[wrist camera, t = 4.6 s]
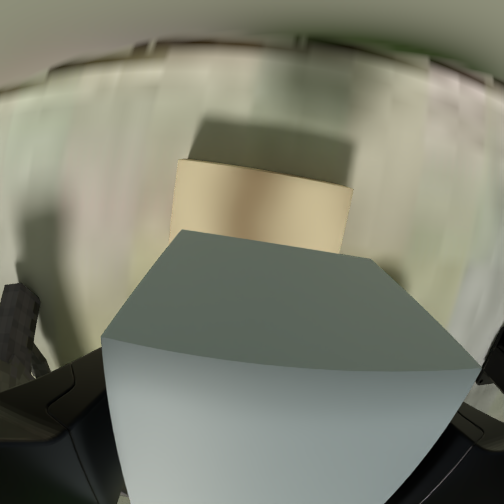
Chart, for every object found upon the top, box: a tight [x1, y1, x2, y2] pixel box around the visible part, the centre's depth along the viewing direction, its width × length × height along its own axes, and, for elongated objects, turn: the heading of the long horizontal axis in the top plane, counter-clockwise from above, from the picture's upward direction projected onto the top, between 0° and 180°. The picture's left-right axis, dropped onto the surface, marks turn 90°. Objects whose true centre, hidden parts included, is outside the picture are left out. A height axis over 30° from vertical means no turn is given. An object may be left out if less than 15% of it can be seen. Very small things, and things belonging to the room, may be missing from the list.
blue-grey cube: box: [101, 229, 482, 504], centre depth 7 cm, size 6×6×6 cm
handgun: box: [0, 283, 129, 497], centre depth 21 cm, size 4×24×10 cm, turn 8°
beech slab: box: [168, 159, 353, 254], centre depth 18 cm, size 9×9×2 cm
